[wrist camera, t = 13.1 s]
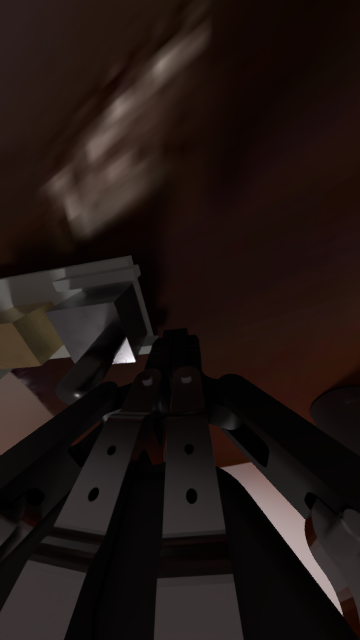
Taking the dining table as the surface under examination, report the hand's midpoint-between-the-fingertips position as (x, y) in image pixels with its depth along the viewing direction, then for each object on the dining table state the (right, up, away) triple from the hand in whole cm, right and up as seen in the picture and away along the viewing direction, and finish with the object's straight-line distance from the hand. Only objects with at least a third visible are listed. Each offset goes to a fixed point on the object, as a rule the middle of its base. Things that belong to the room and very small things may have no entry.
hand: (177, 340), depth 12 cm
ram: (-7, +2, +8) cm, 11 cm away
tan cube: (-16, +1, +9) cm, 19 cm away
